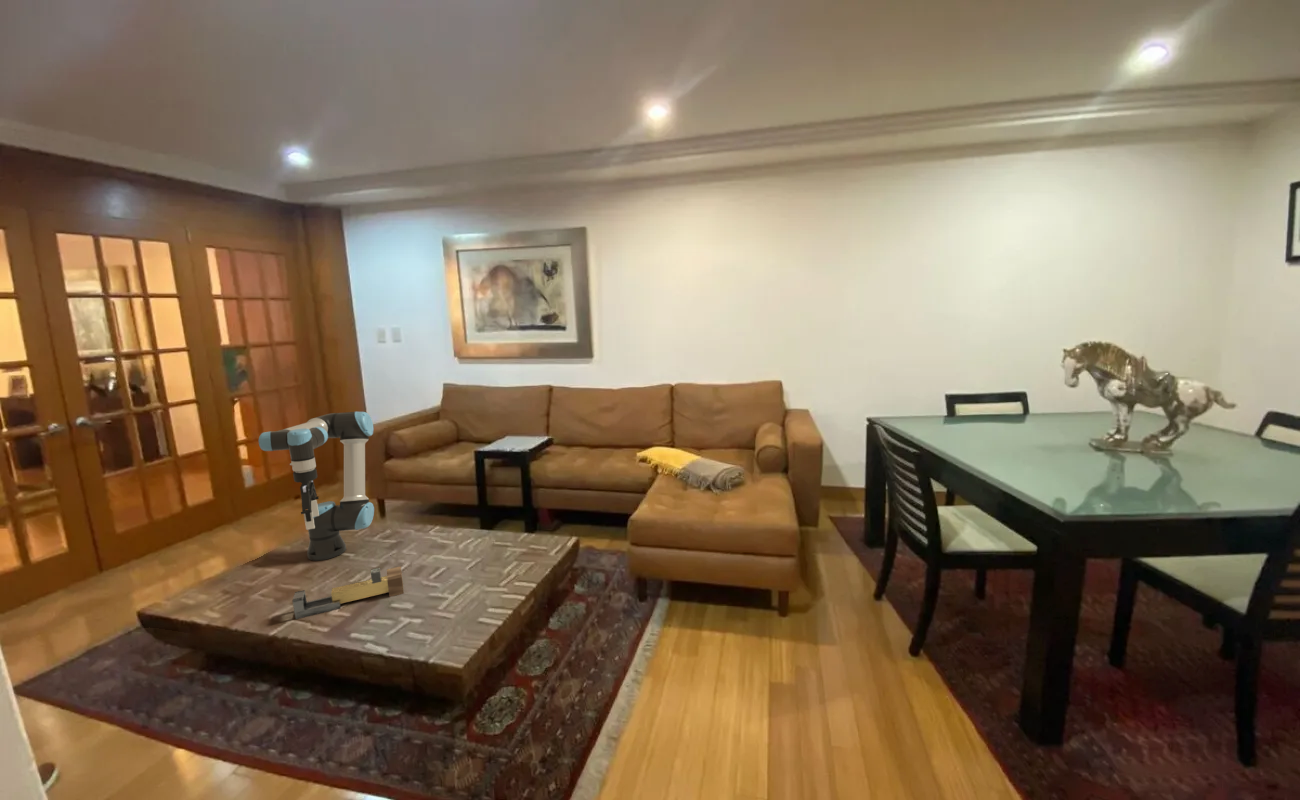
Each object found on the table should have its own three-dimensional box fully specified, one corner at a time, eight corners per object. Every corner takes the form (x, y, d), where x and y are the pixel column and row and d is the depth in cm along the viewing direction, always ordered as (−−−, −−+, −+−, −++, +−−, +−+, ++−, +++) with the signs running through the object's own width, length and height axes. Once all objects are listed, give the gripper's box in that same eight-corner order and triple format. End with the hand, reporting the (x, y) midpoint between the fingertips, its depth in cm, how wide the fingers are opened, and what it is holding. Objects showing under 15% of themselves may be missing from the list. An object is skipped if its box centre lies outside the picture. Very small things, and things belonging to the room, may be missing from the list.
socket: (389, 588, 208) (386, 569, 206) (403, 584, 210) (400, 566, 208) (389, 596, 201) (386, 577, 200) (403, 593, 204) (401, 574, 202)
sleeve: (298, 610, 194) (295, 592, 193) (341, 600, 200) (338, 582, 199) (295, 619, 189) (292, 600, 187) (340, 608, 195) (337, 590, 193)
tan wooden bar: (334, 600, 198) (330, 578, 196) (398, 585, 208) (395, 564, 206) (333, 605, 194) (329, 583, 193) (398, 589, 204) (395, 568, 202)
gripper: (297, 462, 208) (305, 513, 212) (287, 480, 186) (296, 536, 190) (319, 459, 211) (327, 509, 215) (312, 477, 189) (320, 532, 193)
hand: (312, 522), depth 202 cm, fingers open, 13 cm apart
